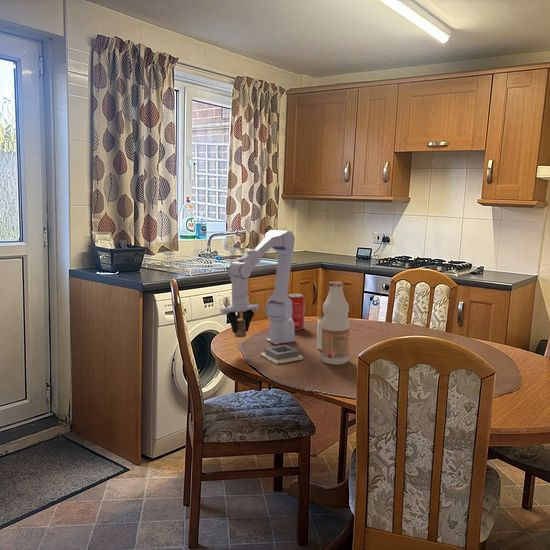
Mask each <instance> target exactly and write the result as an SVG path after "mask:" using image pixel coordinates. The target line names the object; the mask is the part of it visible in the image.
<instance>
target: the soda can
mask: <svg viewBox="0 0 550 550" xmlns="http://www.w3.org/2000/svg"><path fill="white" fill-rule="evenodd" d="M287 296H288V297H289V299H290V300H291V301H292V315H291V317H290V318H291V319H292V320H293V322H294V332H295V331H296V332H297V331H301V330H303V329H304V328H305V308H306V307H305V304H306V303H305V302H306V301H305V297H304V294H301V293H289V294H287Z"/></svg>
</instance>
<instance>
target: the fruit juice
mask: <svg viewBox="0 0 550 550" xmlns="http://www.w3.org/2000/svg"><path fill="white" fill-rule="evenodd" d="M328 288H329V289H328V294H327V296H326V299H325V301H324V302H323V304H322V313H323V316H324V317H323V320H322V350H321V362H323V363H325V364H327V365H332V366H333V365H335V366H336V365H337V366H338V365H339V366H340V365H344V364H347V363H348V362H349V351H350V350H349V346H350V342H349V341H350V320H349V316H348V315H349V311H350V305H349V303H348V301H347V299H346V298H345V293H344V291H343V288H344V282H342V281H329V283H328Z"/></svg>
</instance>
